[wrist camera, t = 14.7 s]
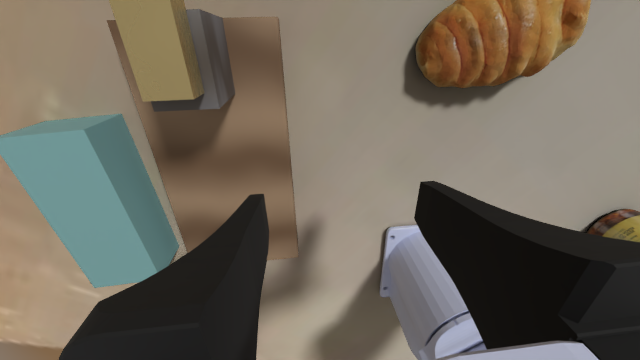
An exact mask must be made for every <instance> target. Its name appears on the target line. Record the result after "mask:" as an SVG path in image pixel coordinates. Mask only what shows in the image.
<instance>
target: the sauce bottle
mask: <svg viewBox="0 0 640 360" xmlns="http://www.w3.org/2000/svg"><path fill="white" fill-rule="evenodd" d="M587 233H589V234H594V235H599V236H604V237H609V238H615V239H622V240H628V241H635V242H640V212H639V211H635V210H630V209H621V210H618V211H616V212H613V213H611V214H608V215H606V216H604V217H603V218H601V219H600V220H598V221H597V222H596V223H595V224H594V225H593V226H592V227H591V228H590V229H589V230H588V232H587Z"/></svg>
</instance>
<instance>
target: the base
mask: <svg viewBox="0 0 640 360" xmlns="http://www.w3.org/2000/svg"><path fill="white" fill-rule="evenodd" d="M186 13H187V17H188V22H189V26H190V31H191V35H192V39H193V44H194V48H195V53H196V57H197V62H198V66H199V71H200V75H201V80H202V84H203V89H204V94H202V95H200V96H199V97H197V98H195V99H190V100H168V101H146V102H143V100H142V97H141V94H140V91H139V88H138V86H137V83H136V80H135V77H134V74H133V71H132V68H131V65H130V62H129V59H128V56H127V53H126V50H125V47H124V44H123V41H122V38H121V35H120V32H119V29H118V26H117V23H116V20H107V23H108V26H109V28H110V31H111V34H112V37H113V40H114V43H115V46H116V49H117V51H118V54H119V57H120V60H121V63H122V66H123V69H124V71H125V74H126V77H127V80H128V83H129V86H130V89H131V92H132V94H133V97H134V100H135V103H136V106H137V109H138V112H139V114H140V117H141V120H142V123H143V126H144V129H145V132H146V135H147V137H148V140H149V143H150V146H151V149H152V152H153V155H154V157H155V160H156V163H157V166H158V169H159V172H160V175H161V178H162V180H163V183H164V186H165V189H166V192H167V195H168V198H169V200H170V203H171V206H172V209H173V212H174V215H175V218H176V221H177V223H178V226H179V229H180V232H181V235H182V238H183V241H184V243H185V246H186V249H187V252H188V253H189V252H190V251H192V250H193V249H194V248H196V247H197V246H198V245H200V244H201V243H202V242H203V241H205V240H206V239H207V238H208V237H209V236H211V235H212V234H213V233H214V232H215V231H216V230H217V229H218V228H219V227H220V226H221V225H222V224H223V223H224V222H226V221H227V219H228V218H229V217H230V216H231V215H232V214H233V213H234V212H235V211H236V210H237V209H238V207H239V206H240V205H241V204H242V203H243V202H244V201H245V199H246V198H247V197H248V196H249V195H252V194H264V198H265V205H266V212H267V218H268V225H269V249H268V256H267V260H274V259H285V258H295V257H298V239H297V227H296V215H295V204H294V192H293V180H292V168H291V157H290V145H289V133H288V121H287V110H286V98H285V86H284V74H283V63H282V51H281V39H280V27H279V19H278V17H243V18H221V17H219V16H216V15H213V14H211V13H208V12H205V11H202V10H200V9H192V10H186Z"/></svg>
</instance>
